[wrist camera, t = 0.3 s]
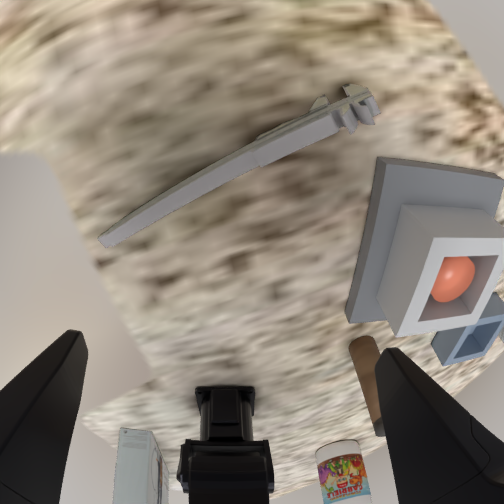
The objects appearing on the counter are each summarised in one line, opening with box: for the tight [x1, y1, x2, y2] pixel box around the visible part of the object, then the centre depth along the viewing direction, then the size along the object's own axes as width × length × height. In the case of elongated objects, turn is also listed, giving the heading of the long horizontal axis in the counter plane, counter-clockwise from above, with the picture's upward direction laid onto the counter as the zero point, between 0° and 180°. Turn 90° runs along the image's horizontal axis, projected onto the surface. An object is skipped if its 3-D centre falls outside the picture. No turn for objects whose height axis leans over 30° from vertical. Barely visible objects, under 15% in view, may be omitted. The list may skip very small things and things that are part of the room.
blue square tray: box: [431, 292, 504, 366], centre depth 29 cm, size 7×7×4 cm
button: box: [430, 256, 475, 302], centre depth 21 cm, size 4×4×2 cm
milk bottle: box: [316, 440, 372, 504], centre depth 38 cm, size 8×8×20 cm
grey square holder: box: [345, 157, 504, 337], centre depth 22 cm, size 14×12×6 cm
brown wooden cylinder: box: [349, 336, 386, 437], centre depth 26 cm, size 3×3×10 cm
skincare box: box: [113, 428, 169, 504], centre depth 38 cm, size 21×6×16 cm, turn 175°
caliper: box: [97, 84, 380, 248], centre depth 18 cm, size 20×1×6 cm, turn 121°
